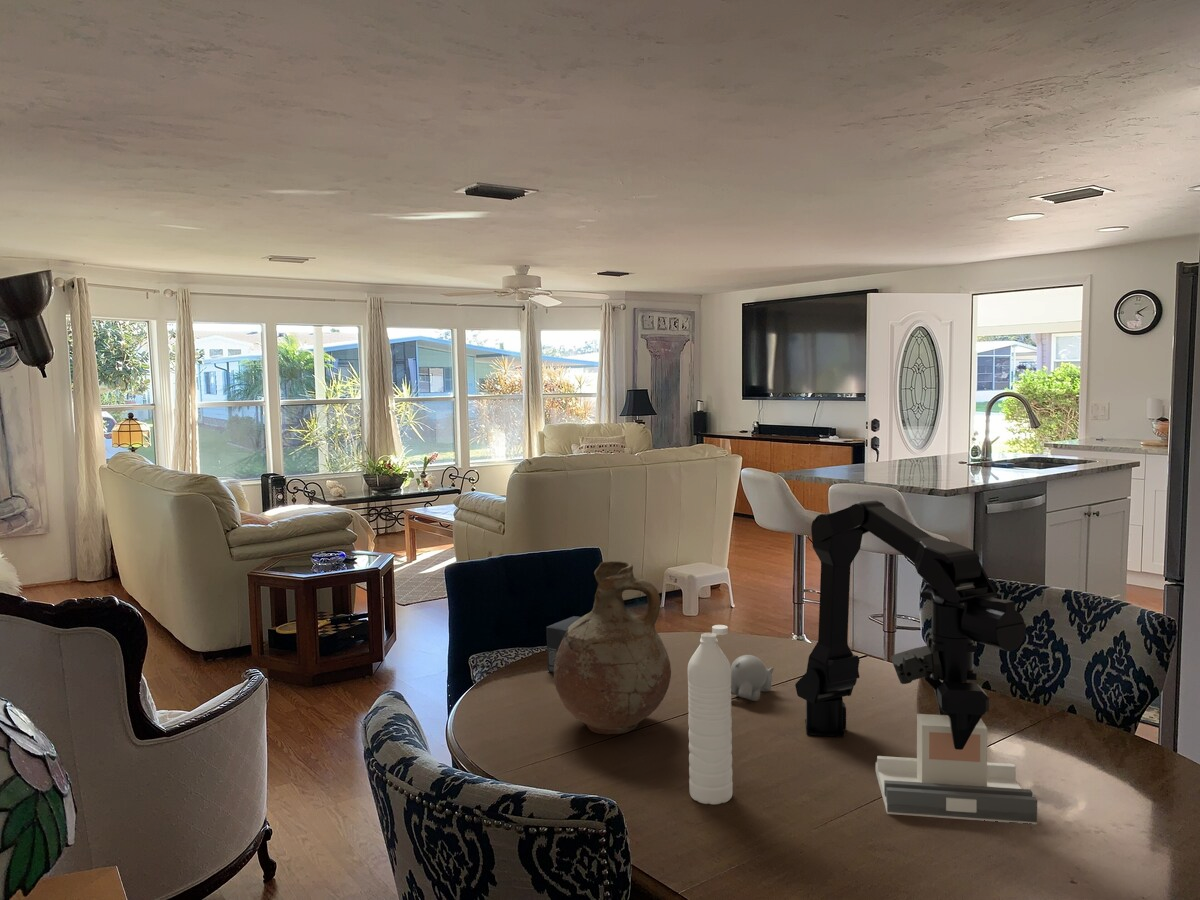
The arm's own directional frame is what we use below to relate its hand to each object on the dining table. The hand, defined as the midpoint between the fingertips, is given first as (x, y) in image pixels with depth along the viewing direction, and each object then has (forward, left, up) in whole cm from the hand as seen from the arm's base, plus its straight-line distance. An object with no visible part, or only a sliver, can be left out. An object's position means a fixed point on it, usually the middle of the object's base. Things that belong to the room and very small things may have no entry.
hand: (951, 736), depth 128 cm
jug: (-55, +20, -9) cm, 59 cm away
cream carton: (0, 0, -8) cm, 8 cm away
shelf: (0, 0, -9) cm, 9 cm away
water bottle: (-35, -4, -9) cm, 37 cm away
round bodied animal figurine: (-30, +38, -10) cm, 50 cm away
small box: (-70, +51, -10) cm, 87 cm away
